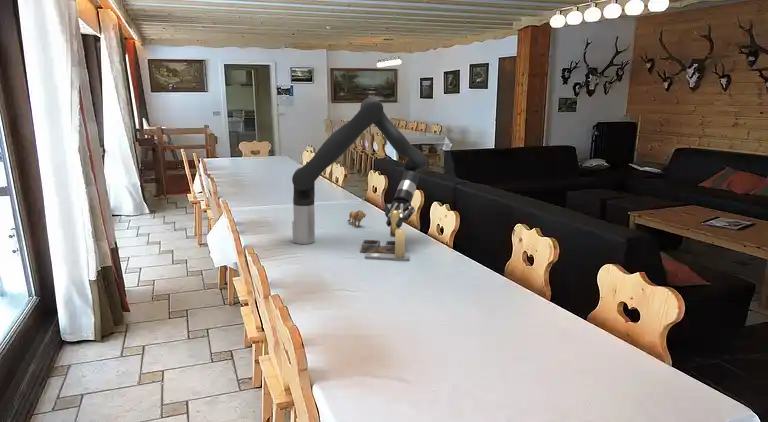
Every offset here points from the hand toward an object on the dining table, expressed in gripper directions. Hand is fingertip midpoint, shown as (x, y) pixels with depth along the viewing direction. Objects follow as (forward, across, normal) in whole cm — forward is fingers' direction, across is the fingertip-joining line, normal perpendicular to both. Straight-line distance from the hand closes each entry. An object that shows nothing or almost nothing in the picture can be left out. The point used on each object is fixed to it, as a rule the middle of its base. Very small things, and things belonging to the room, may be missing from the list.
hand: (393, 226), depth 211 cm
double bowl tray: (+8, -5, +8) cm, 12 cm away
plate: (+14, +1, +3) cm, 14 cm away
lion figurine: (-15, -36, +31) cm, 49 cm away
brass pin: (+2, 0, +5) cm, 5 cm away
